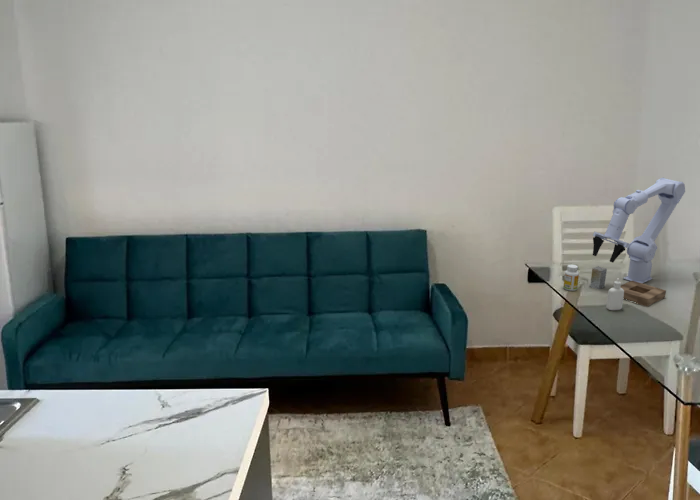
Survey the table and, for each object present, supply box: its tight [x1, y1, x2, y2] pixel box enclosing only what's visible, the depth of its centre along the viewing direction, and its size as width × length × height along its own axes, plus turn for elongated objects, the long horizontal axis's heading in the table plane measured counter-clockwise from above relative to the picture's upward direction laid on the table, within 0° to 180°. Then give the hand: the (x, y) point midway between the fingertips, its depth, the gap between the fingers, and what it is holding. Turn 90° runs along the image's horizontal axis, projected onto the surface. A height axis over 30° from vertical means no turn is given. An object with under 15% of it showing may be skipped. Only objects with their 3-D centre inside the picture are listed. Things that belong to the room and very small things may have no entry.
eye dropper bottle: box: [605, 278, 624, 311], centre depth 240 cm, size 4×6×12 cm
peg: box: [589, 265, 608, 290], centre depth 261 cm, size 4×4×8 cm
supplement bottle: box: [563, 264, 580, 292], centre depth 260 cm, size 5×5×10 cm
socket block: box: [620, 281, 667, 308], centre depth 252 cm, size 14×14×3 cm
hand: (602, 258), depth 257 cm, fingers open, 7 cm apart
